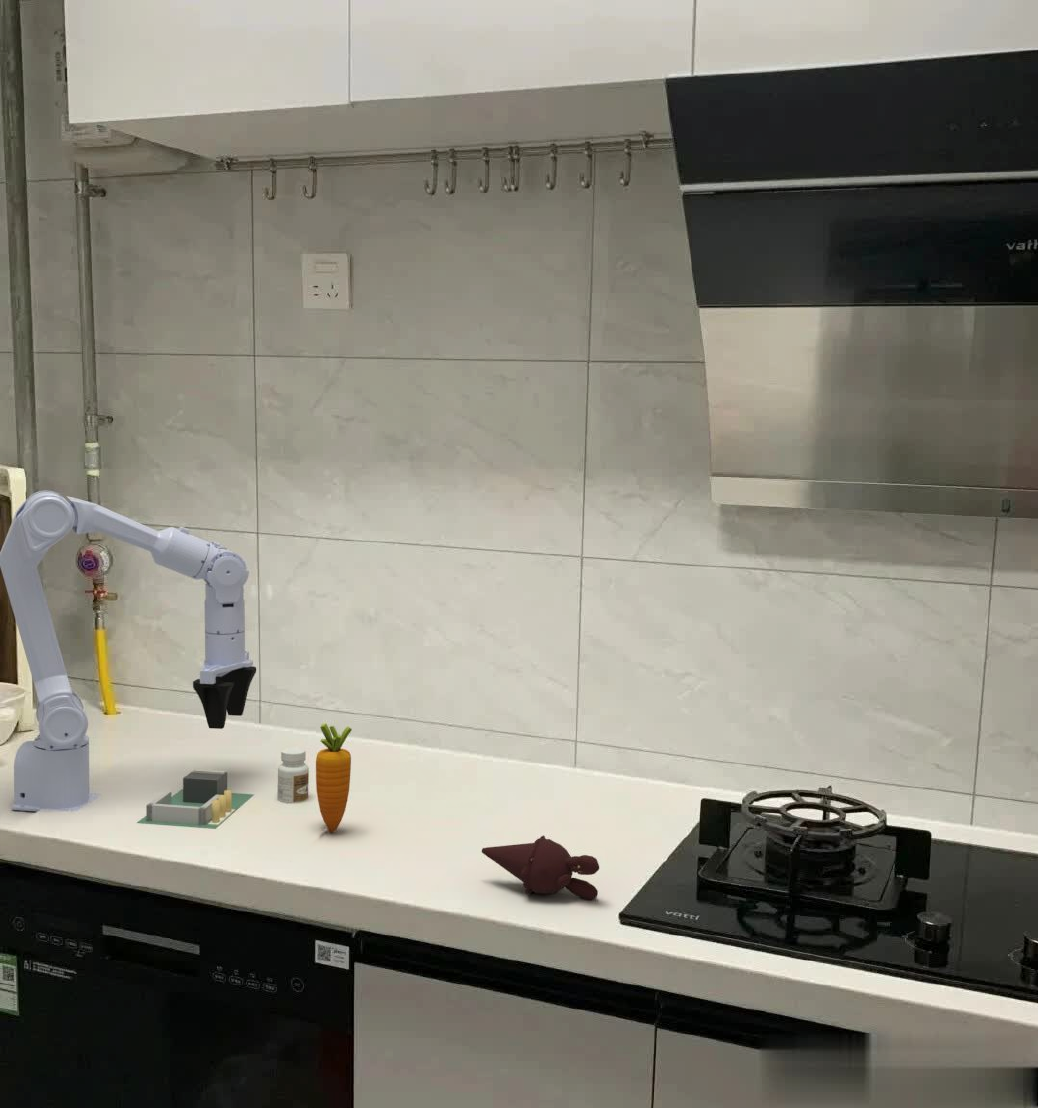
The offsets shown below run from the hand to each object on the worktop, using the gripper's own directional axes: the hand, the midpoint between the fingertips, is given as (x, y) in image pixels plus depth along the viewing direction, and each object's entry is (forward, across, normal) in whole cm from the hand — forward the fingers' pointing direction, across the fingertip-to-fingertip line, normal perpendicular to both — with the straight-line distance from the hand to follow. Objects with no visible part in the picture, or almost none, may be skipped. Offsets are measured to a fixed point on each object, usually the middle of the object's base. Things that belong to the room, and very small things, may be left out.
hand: (226, 721), depth 173 cm
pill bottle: (+11, -4, -11) cm, 16 cm away
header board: (+10, -11, 0) cm, 15 cm away
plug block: (+10, -7, +1) cm, 12 cm away
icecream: (+11, -30, -50) cm, 59 cm away
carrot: (+11, -15, -20) cm, 28 cm away
